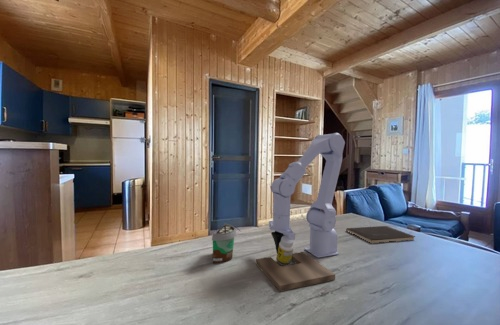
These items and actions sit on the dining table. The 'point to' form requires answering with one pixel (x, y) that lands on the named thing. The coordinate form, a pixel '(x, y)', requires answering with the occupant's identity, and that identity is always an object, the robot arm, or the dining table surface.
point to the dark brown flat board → (380, 234)
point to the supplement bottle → (285, 251)
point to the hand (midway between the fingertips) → (280, 253)
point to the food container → (223, 244)
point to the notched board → (295, 272)
